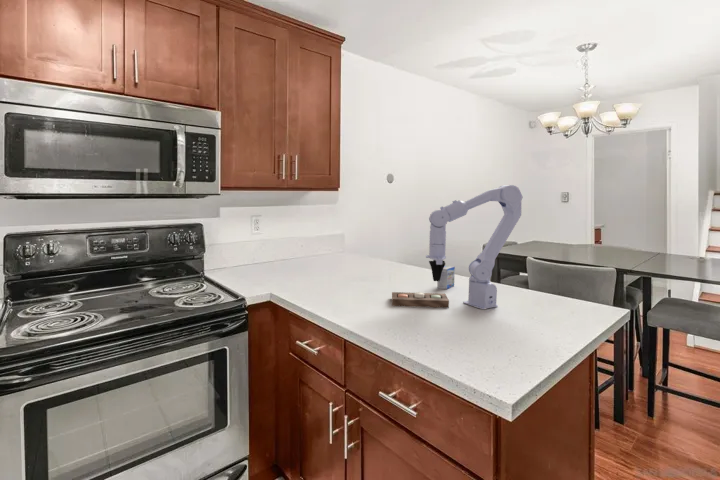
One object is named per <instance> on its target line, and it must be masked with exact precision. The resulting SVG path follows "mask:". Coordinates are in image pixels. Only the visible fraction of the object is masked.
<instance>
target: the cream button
mask: <svg viewBox="0 0 720 480" xmlns="http://www.w3.org/2000/svg"><path fill="white" fill-rule="evenodd" d="M413 293H414V298H424V293H425V292H420V291H419V292H413Z"/></svg>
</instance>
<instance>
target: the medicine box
mask: <svg viewBox="0 0 720 480" xmlns="http://www.w3.org/2000/svg"><path fill="white" fill-rule="evenodd" d="M455 271H456V268H455V266H453V265H445V266H444V268H443V270H442V273H441V278H440V281H436V282H437V289H442V290H448V289H451V288H452V287H455Z"/></svg>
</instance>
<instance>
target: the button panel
mask: <svg viewBox="0 0 720 480" xmlns="http://www.w3.org/2000/svg"><path fill="white" fill-rule="evenodd" d="M414 293H415V292H406V291H405V292H403V291H402V292H396V291H392V292H391V307H411V308H412V307H413V308H414V307H417V308H418V307H419V308H446V309H447V308H448V309H449V308H450V300H449V297H448V296H447V295H446V293H437V292H423V293H424V298H414ZM398 294H407V295H408V298H406V297H398ZM431 295H440V296H441V298H431Z"/></svg>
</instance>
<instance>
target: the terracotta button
mask: <svg viewBox="0 0 720 480" xmlns="http://www.w3.org/2000/svg"><path fill="white" fill-rule="evenodd" d="M398 297H406V298H408V295H407V294H398Z"/></svg>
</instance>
